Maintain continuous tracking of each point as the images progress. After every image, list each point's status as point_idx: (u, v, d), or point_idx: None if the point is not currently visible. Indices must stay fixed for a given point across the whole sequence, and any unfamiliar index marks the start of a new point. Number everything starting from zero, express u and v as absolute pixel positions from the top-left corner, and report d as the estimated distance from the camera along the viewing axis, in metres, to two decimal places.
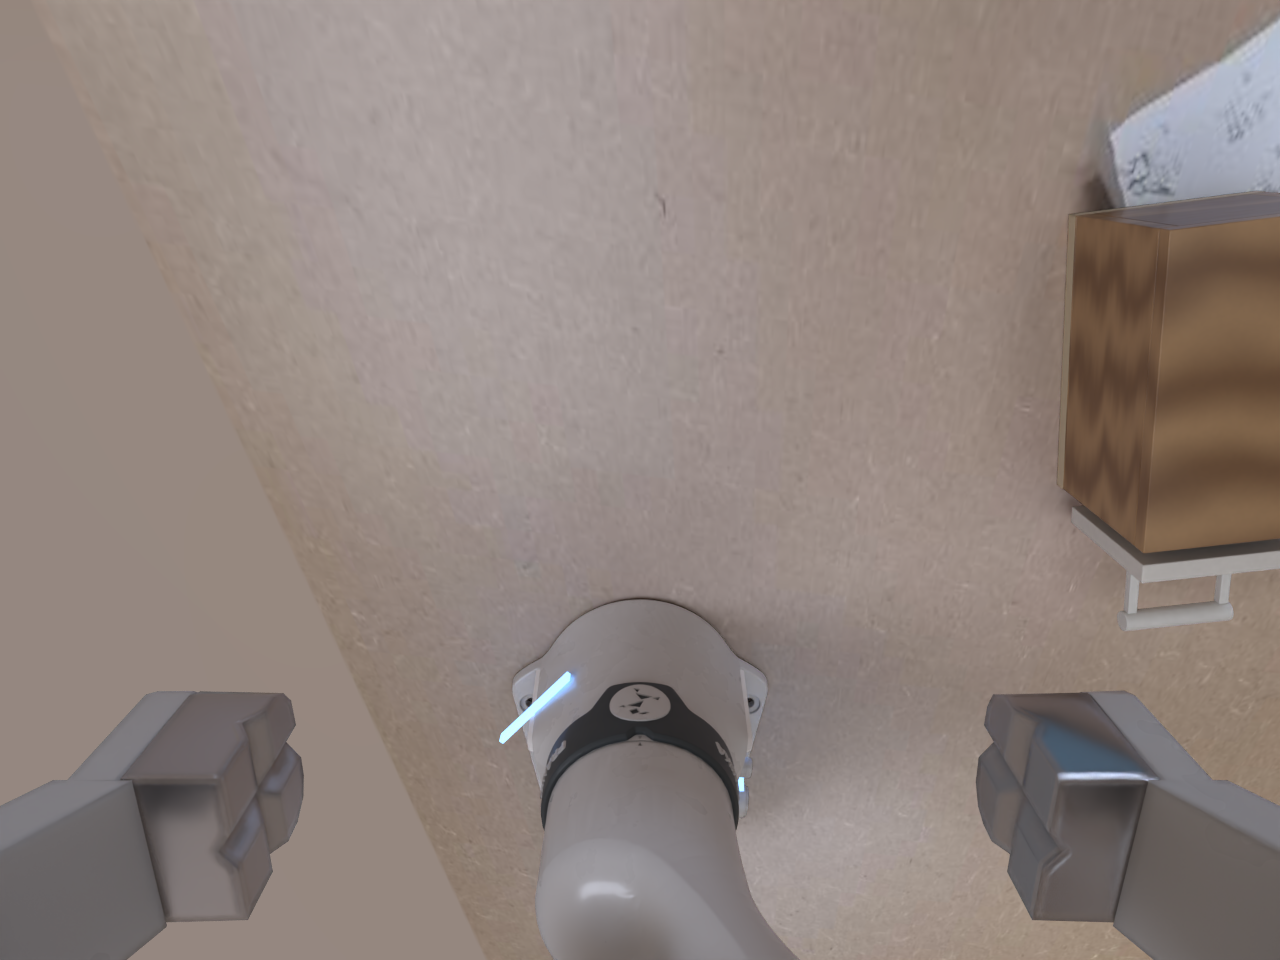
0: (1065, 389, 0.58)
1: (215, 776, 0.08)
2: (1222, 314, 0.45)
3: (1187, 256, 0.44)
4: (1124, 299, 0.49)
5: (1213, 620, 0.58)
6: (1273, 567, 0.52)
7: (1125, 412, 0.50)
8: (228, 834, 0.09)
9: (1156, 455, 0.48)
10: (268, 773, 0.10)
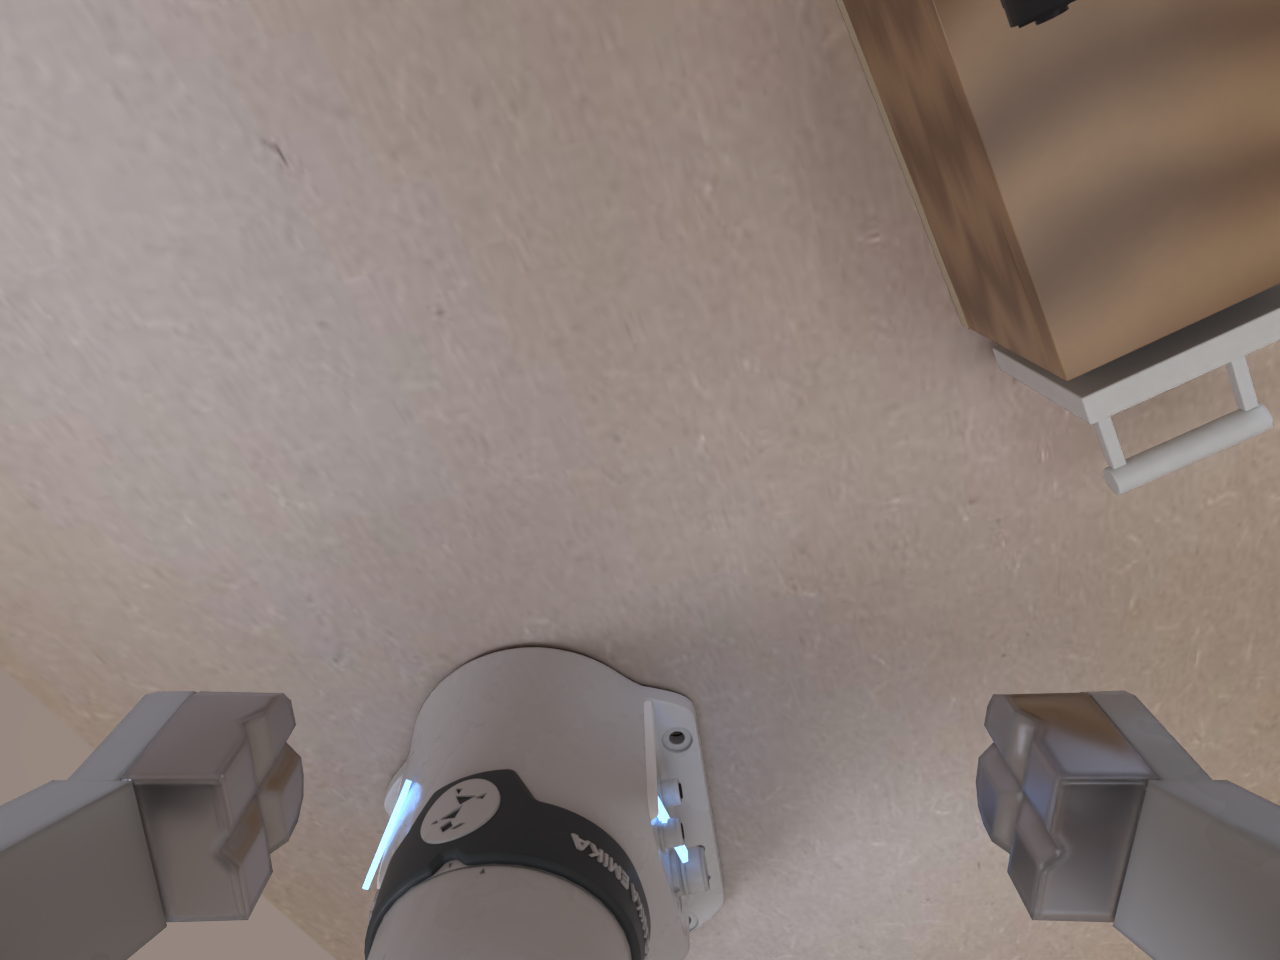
0: (914, 192, 0.40)
1: (216, 775, 0.09)
2: None
3: None
4: (898, 18, 0.31)
5: (1245, 437, 0.38)
6: None
7: (968, 183, 0.32)
8: (228, 834, 0.09)
9: (1021, 228, 0.30)
10: (268, 773, 0.10)
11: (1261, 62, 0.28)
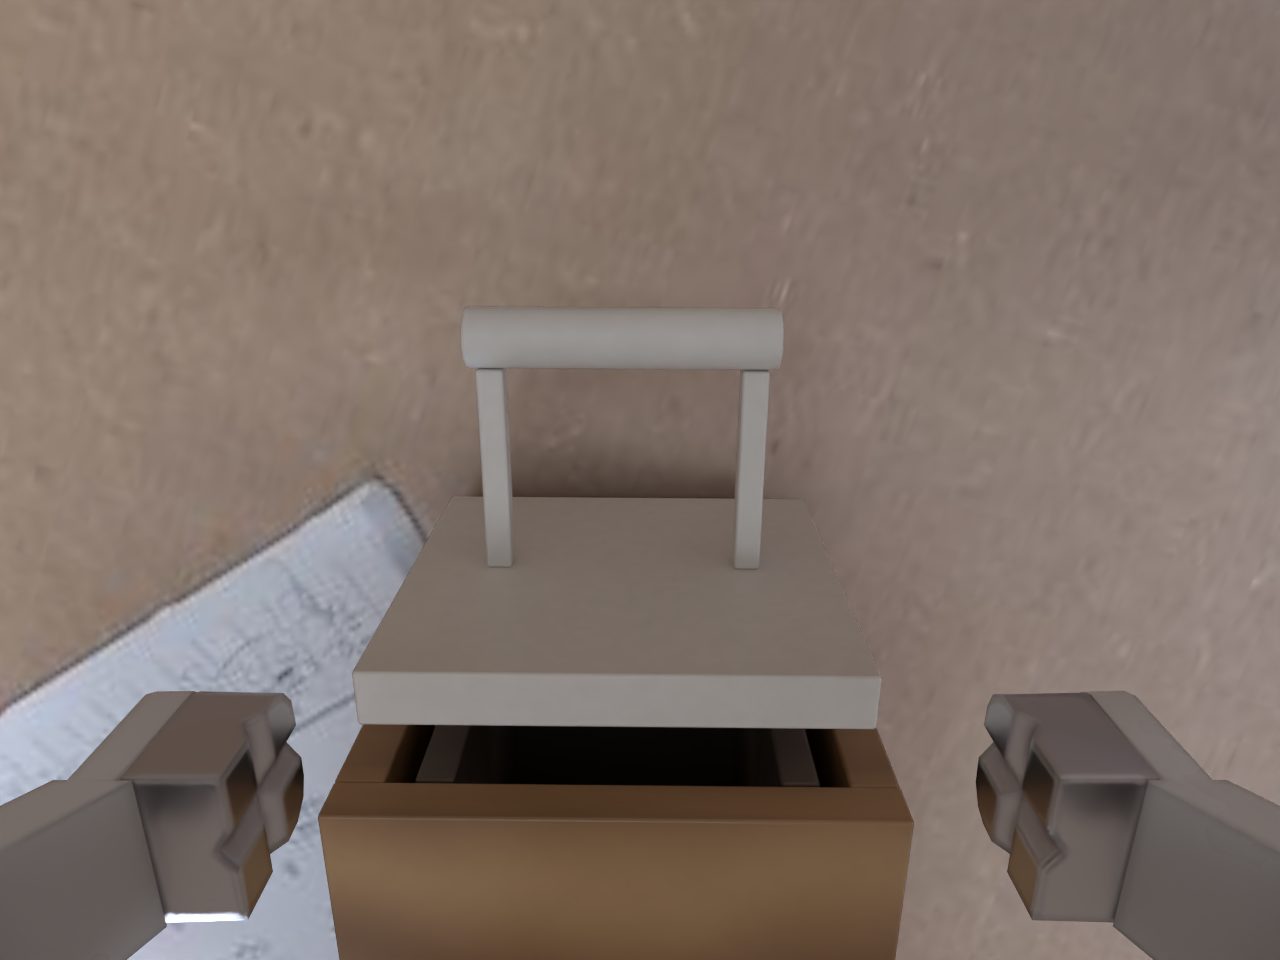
0: None
1: (216, 775, 0.09)
2: None
3: None
4: None
5: (517, 328, 0.19)
6: (482, 680, 0.17)
7: None
8: (228, 834, 0.09)
9: None
10: (268, 773, 0.10)
11: None
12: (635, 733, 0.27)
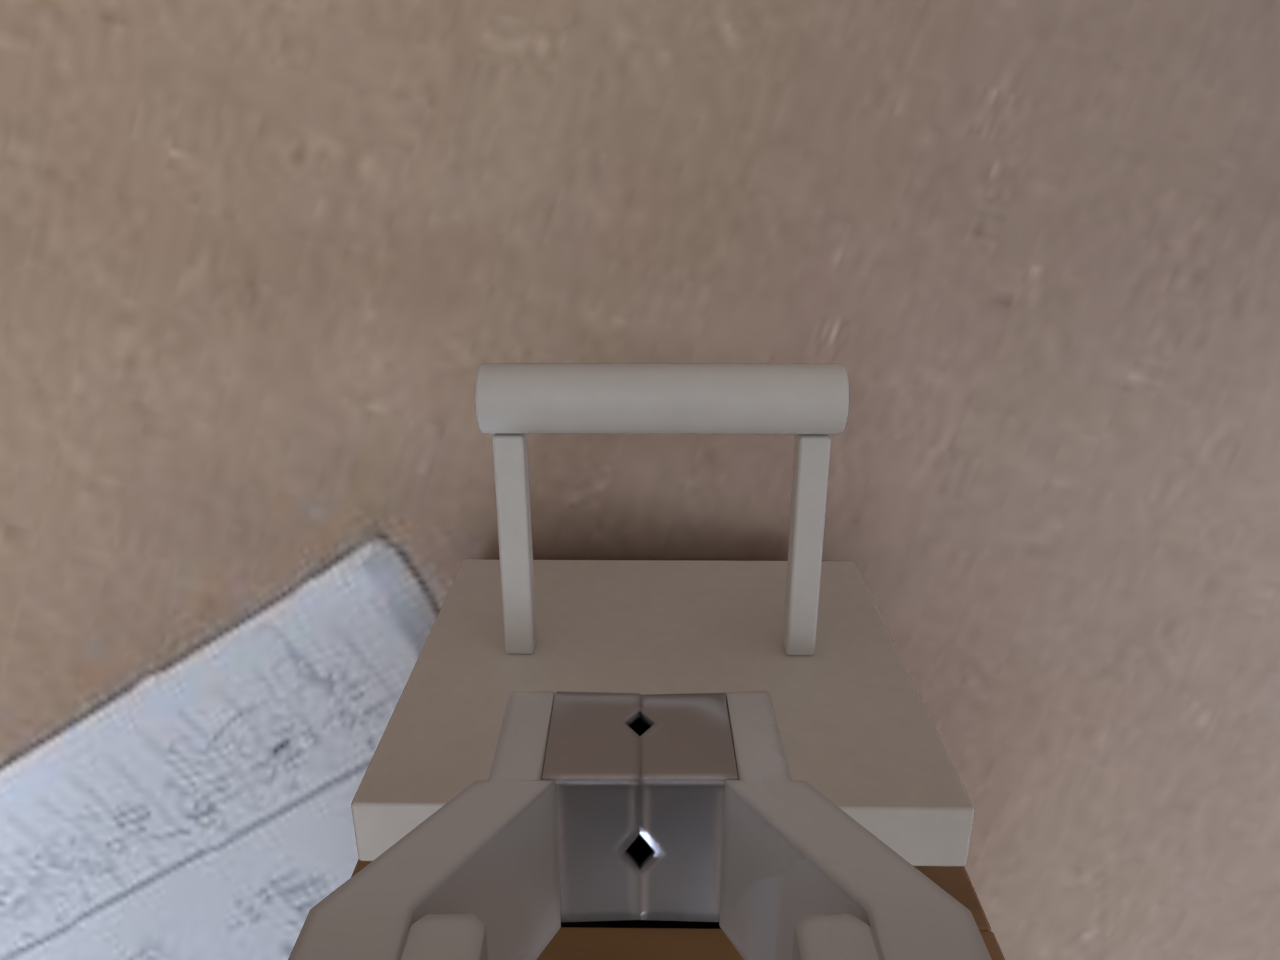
0: None
1: (634, 776, 0.08)
2: None
3: None
4: None
5: (540, 389, 0.16)
6: None
7: None
8: (637, 834, 0.09)
9: None
10: None
11: None
12: None
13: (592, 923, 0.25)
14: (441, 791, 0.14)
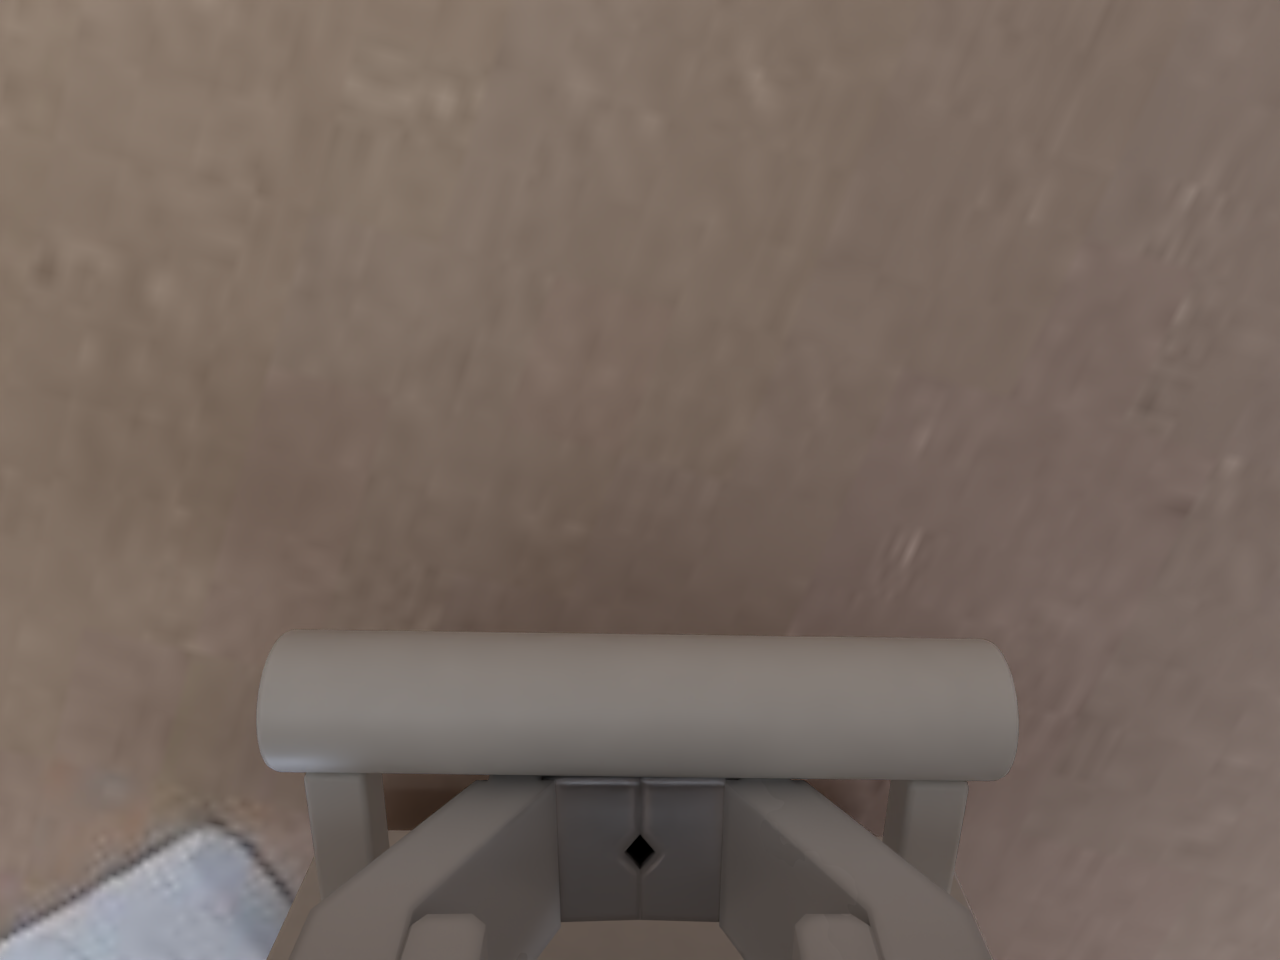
0: None
1: None
2: None
3: None
4: None
5: (390, 707, 0.08)
6: None
7: None
8: (637, 834, 0.09)
9: None
10: None
11: None
12: None
13: None
14: None
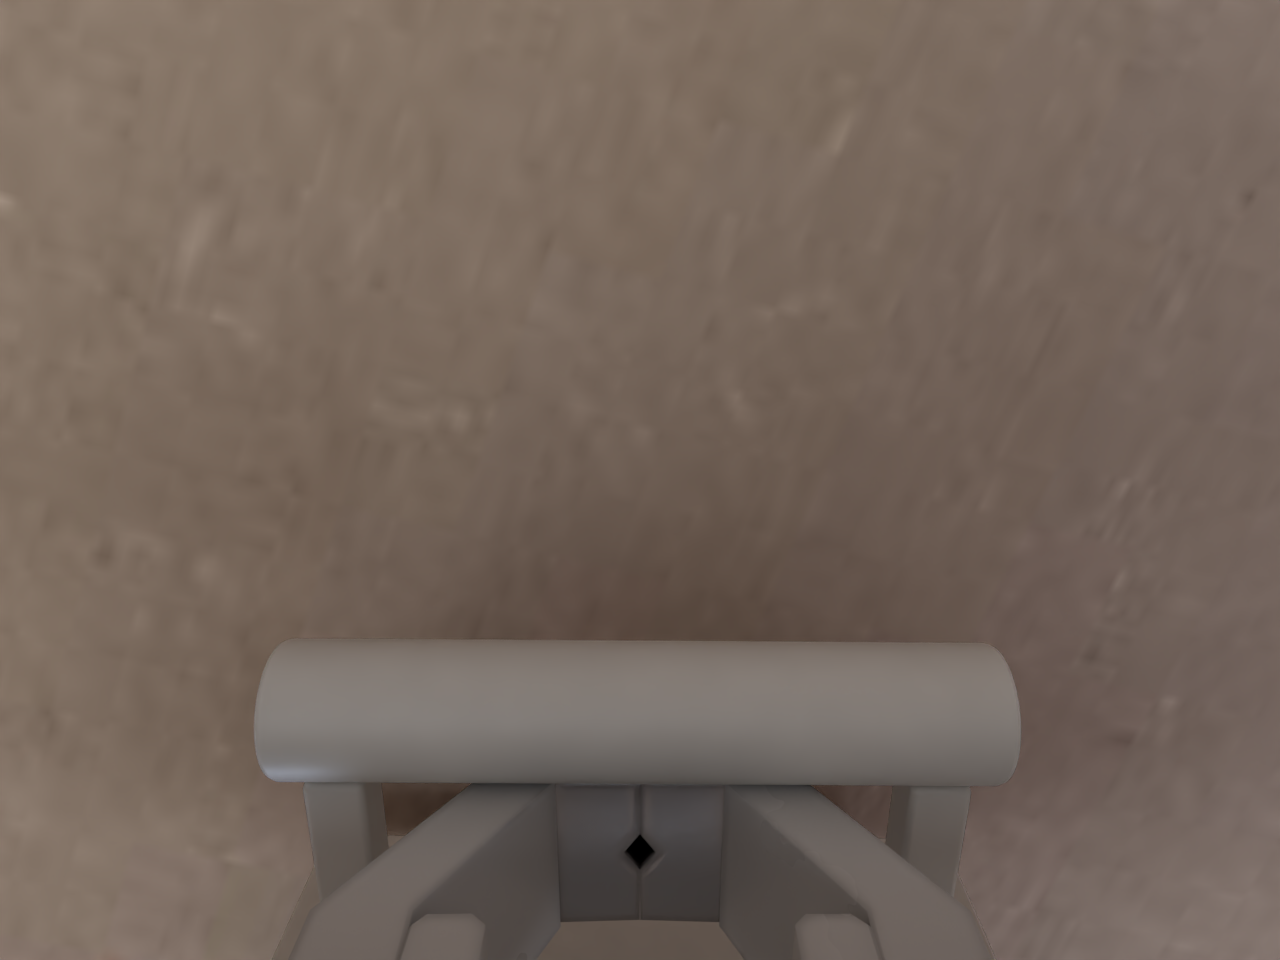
0: None
1: None
2: None
3: None
4: None
5: (388, 716, 0.08)
6: None
7: None
8: (636, 834, 0.09)
9: None
10: None
11: None
12: None
13: None
14: None
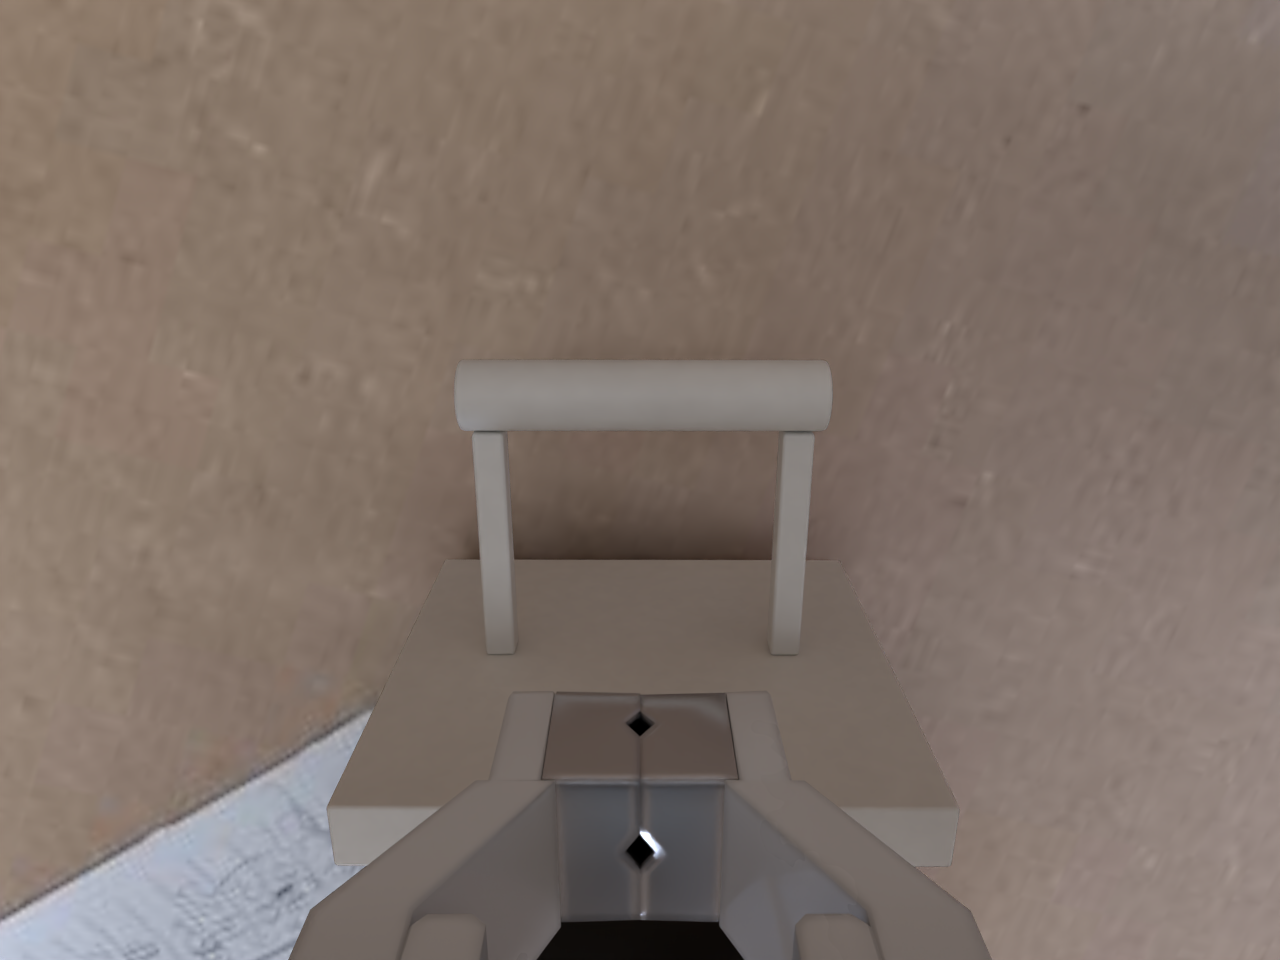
0: None
1: (634, 776, 0.08)
2: None
3: None
4: None
5: (520, 386, 0.16)
6: None
7: None
8: (637, 834, 0.09)
9: None
10: None
11: None
12: None
13: (577, 927, 0.25)
14: (419, 794, 0.14)
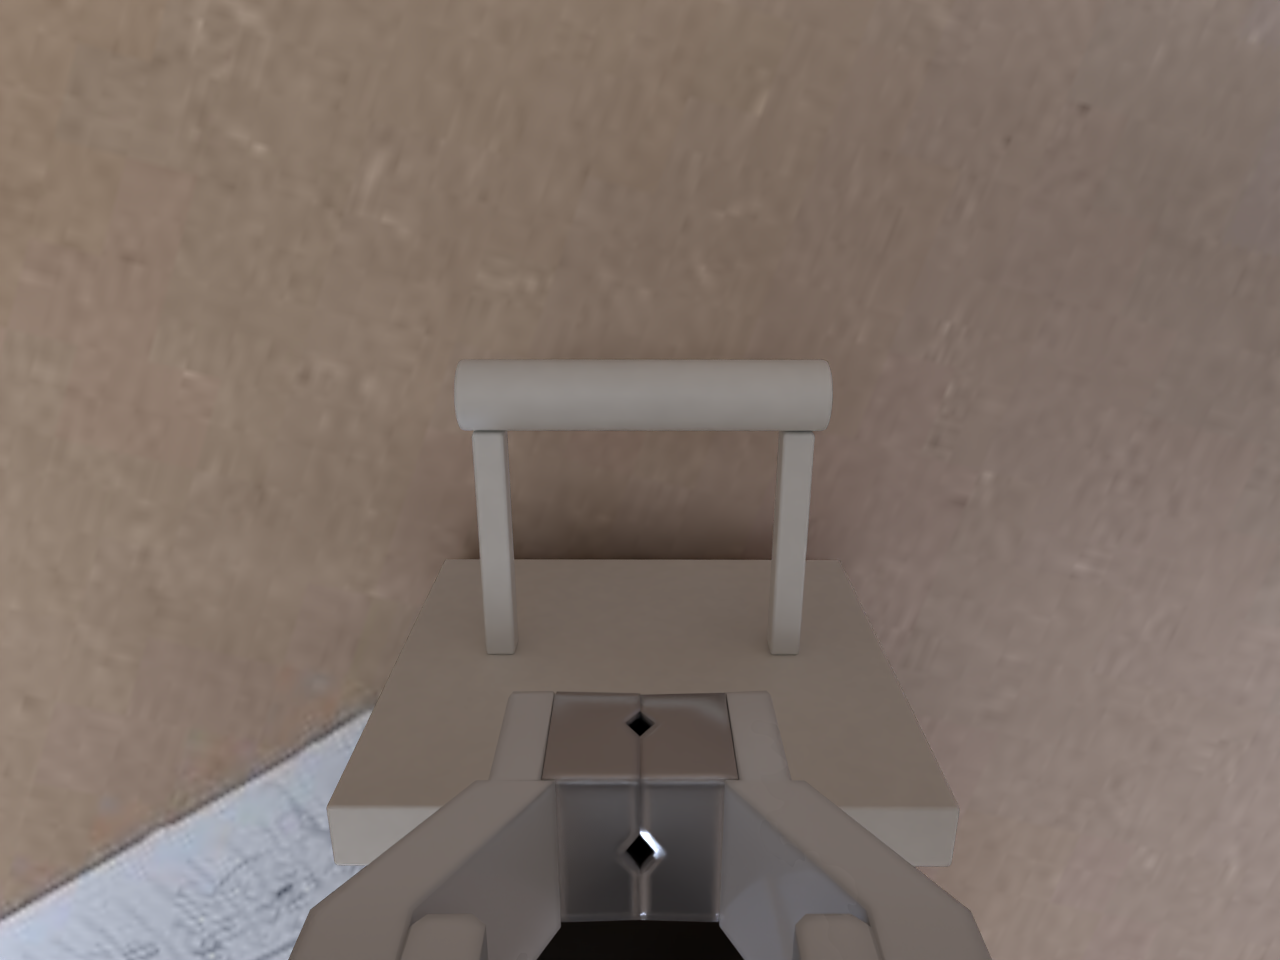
0: None
1: (634, 775, 0.09)
2: None
3: None
4: None
5: (520, 385, 0.16)
6: None
7: None
8: (637, 834, 0.09)
9: None
10: None
11: None
12: None
13: (577, 927, 0.25)
14: (419, 793, 0.14)
